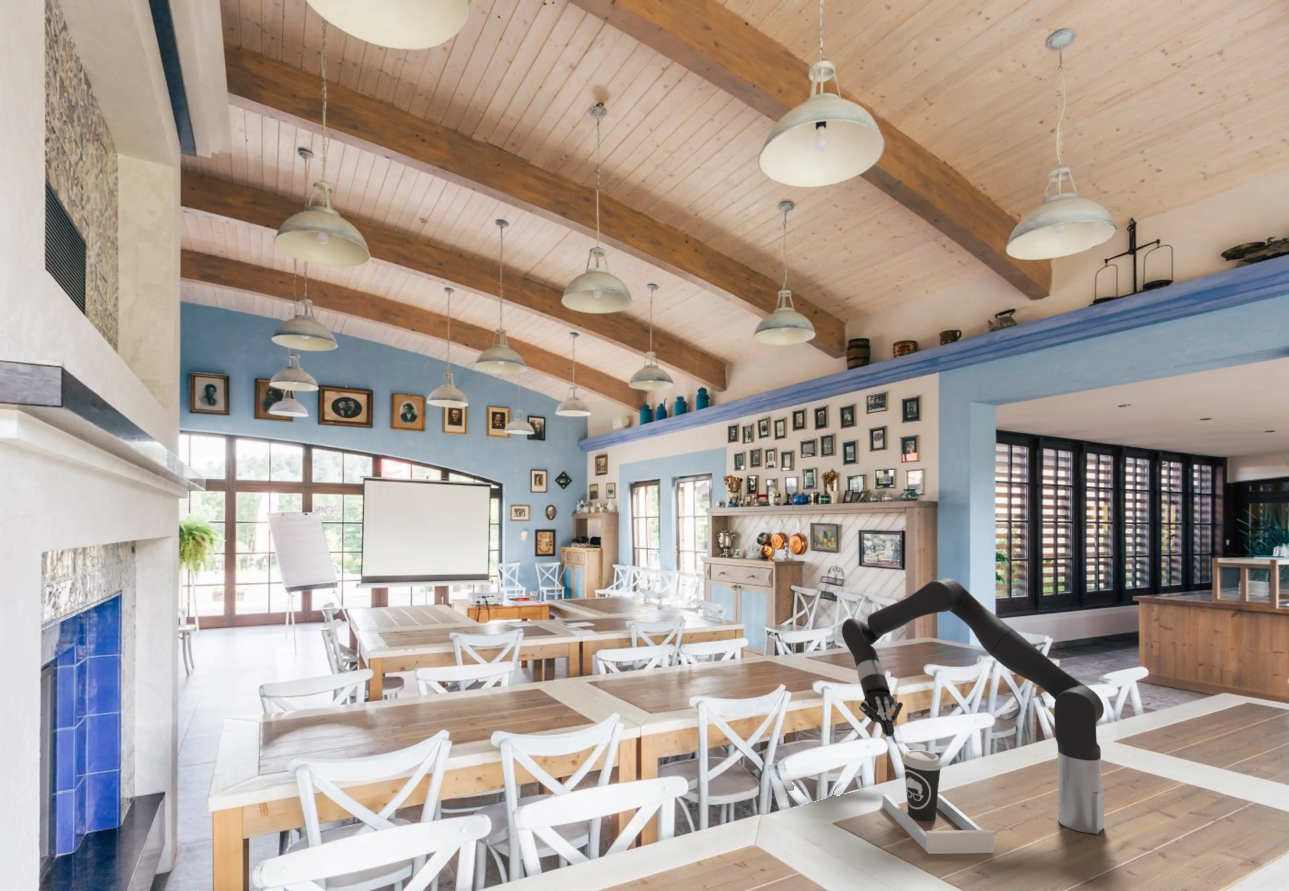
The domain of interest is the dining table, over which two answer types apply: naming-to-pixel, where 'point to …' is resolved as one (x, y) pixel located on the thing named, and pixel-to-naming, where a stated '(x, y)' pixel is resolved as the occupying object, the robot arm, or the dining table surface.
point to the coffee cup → (922, 783)
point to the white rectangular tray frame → (944, 841)
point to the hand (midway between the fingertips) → (889, 735)
